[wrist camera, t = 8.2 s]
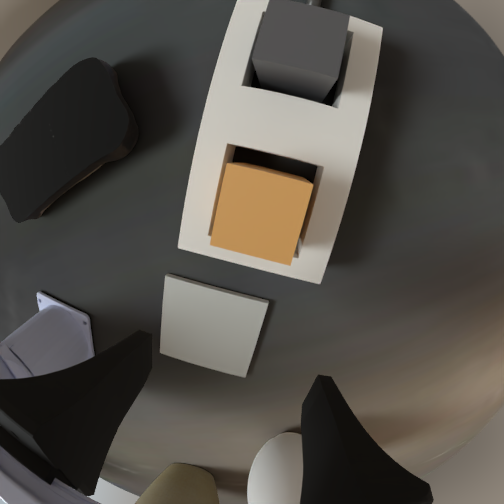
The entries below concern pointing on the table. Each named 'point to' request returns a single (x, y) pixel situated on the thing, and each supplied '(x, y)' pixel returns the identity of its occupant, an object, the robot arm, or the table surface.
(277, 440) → the sauce bottle
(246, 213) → the orange plug
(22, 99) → the table surface
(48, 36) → the table surface
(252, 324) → the grey mat
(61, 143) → the black sponge
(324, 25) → the dark grey block
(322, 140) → the white slotted board
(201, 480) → the plant pot
